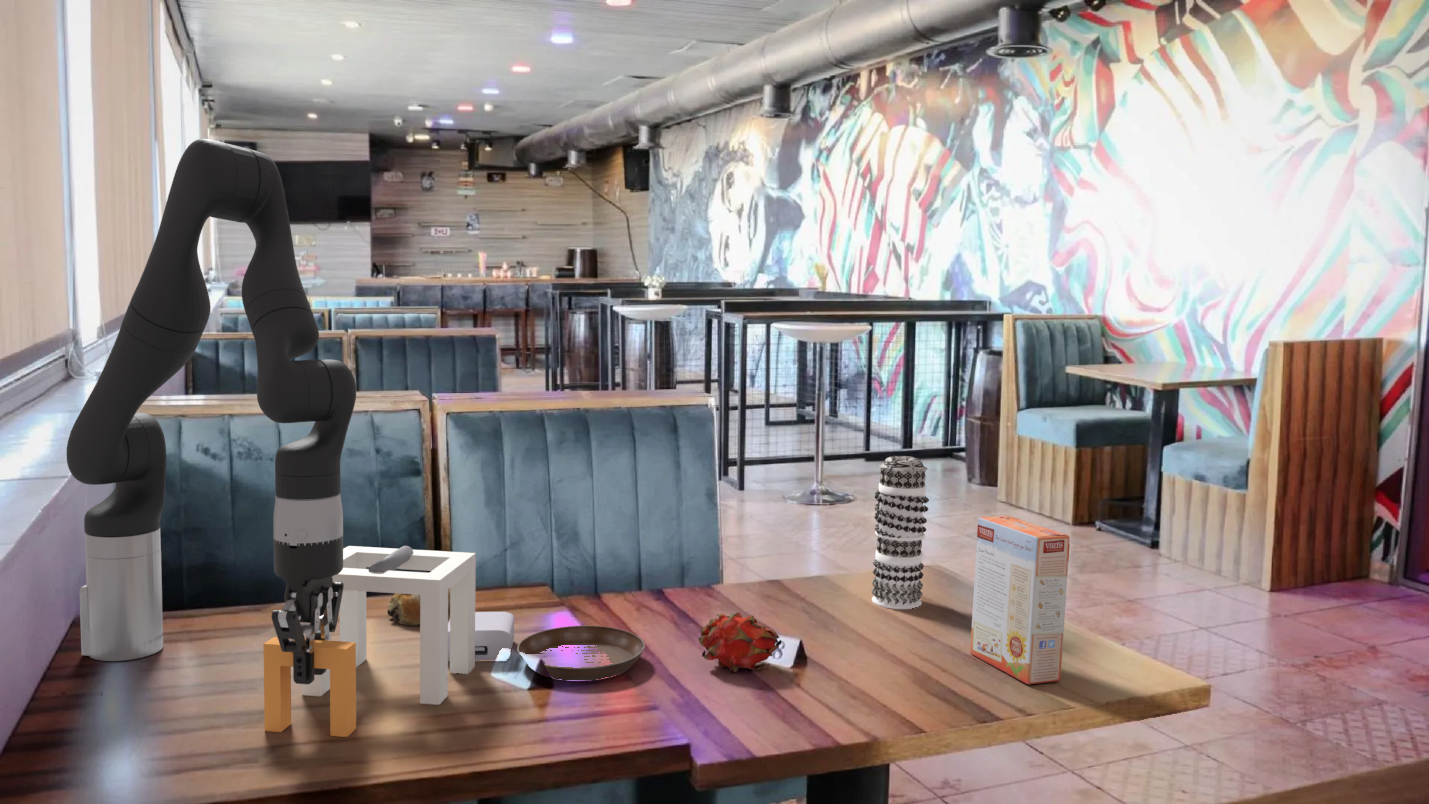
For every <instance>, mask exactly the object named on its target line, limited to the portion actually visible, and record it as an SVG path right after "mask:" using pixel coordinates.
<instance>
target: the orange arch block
mask: <svg viewBox="0 0 1429 804" xmlns="http://www.w3.org/2000/svg"><path fill="white" fill-rule="evenodd" d="M289 640H290V639H289ZM305 640H306V639H305ZM313 652H314V668H320V669H330V689H329V701H330V702H329V712H330V713H329V717H330V719H329V721H330V722H329V724H330V727H329V728H330V729H329V731H330V732H329V733H330V736H331V737H338V738H339V737H340V738H341V737H342V738H348V737H349V736H350V735H352V733H353V732H354V731H356V729H357V689H356V688H357V669H356V668H357V667H356V642H343V641H340V640H331V641H328V640H314V650H313ZM291 668H293V653H292V652H282V650H281V646H280V643H279V640H278V637H277V636H274V637H272V638H270V639H269V640H267V641H266V642H264V643H263V692H264V693H263V695H264V696H263V699H264V700H263V701H264V702H263V705H264V706H263V707H264V708H263V709H264V710H263V711H264V732H273V733H282V732H283V731H284V730H286V729H287V728H288V727H289V726H290V725H291V724H292V677H291V676H292V670H291Z"/></svg>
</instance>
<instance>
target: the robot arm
mask: <svg viewBox="0 0 1429 804" xmlns="http://www.w3.org/2000/svg"><path fill="white" fill-rule="evenodd" d="M209 218H214V219H219V220H224V221H225V220H226V221H230V222H236V223H242V224H243V223H244V224H246V225H247V227H248V229H250V231H251V233H252V236H253V238H254V240H255V248H254V252H253V255H252V257H251V259H250V262H249V264H248V266H247V268H246V270H245V273H244V276H243V279H242V283H241V300H242V301H241V302H242V304H243V309H244V313H245V315H246V317H247V320H248V323H249V327H250V330H251V333H252V336H253V338H254V342H255V348H256V349H255V350H256V361H257V362H256V363H257V378H256V381H257V383H256V398H257V403H258V406H259V409H260V410H261V411H262V413H263V414H264V415H265V416H266V417H267V418H268V419H269V420H271V421H273V422H274V423H278V424H294V423H295V424H296V423H297V424H298V423H308V422H309V423H310V422H313V423H314V424H313V426H312V428H311V430H310V431H309V433H308V434H307V435H306V436H305V437H303V438H301V439H298V440H295V441H292V442H289V443H286V444H284V445H282V446H280V447H279V448H278V449H277V451H276V452H275V458H274V459H275V460H274V469H275V470H274V472H275V473H274V474H275V476H274V477H275V480H274V483H275V487H274V488H275V490H274V491H275V500H274V509H273V518H272V520H273V571H274V574H275V575H276V576H277V577H278V578H280V579H283V580H284V581H285V583H286V586H285V591H284V605H283V607H282V608H281V609H274V610H273V611H272V612H271V621H272V624H273V627H274V631H275V633H276V637H278V640H279V643H280V646H281V650H282V652H292V653H293V667H292V669H293V673H292V674H293V676H292V677H293V682H294V683H295V684H298V685H302V684H310V683H312V682H313V681H314V675H322V674H323V673H325V672H326V669H320V668H314V652H313V650H314V640H329V637H330V634H329V633H330V632H331V633H335V631H336V630H337V624H338V619H339V609H340V604H341V599H342V593H343V588H344V585H343V583H341V582H333V578H332V576H335V575H337V574H339V573H340V572H341V571H342V569H343V549H344V512H343V504H342V498H341V497H342V495H341V491H342V490H341V489H342V488H341V459H342V454H343V449H344V446H345V445H344V444H345V441H346V436H347V433H348V430H349V425H350V422H351V419H352V416H353V412H354V408H355V404H356V400H357V385H356V384H357V383H356V380H355V377H354V374H353V372H352V371H351V369H350V368H349V367H348V365H347V364H346V363H345V362H342V361H341V360H338V359H307V360H303V359H302V360H298V359H297V358H299V357H302V356H304V355H306V354H308V353H310V352H311V351H312V350H313V349H314V348H315V347H316V345H317V344H318V342H319V339H320V333H319V332H320V331H319V328H318V324H317V322H316V318H315V316H314V313H313V311H312V308H311V304H310V302H309V300H308V296H307V294H306V292H305V289H304V286H303V283H302V280H301V277H300V274H299V269H298V266H297V260H296V255H295V250H294V249H295V247H294V242H293V236H292V230H291V222H290V216H289V211H288V206H287V201H286V194H285V189H284V184H283V180H282V177H281V174H280V171H279V169H278V166H277V165H276V162H274V160H273V159H272V158H271V157H270V156H269V155H267V154H265V153H263V152H260V151H258V150H253V149H251V148H248V147H242V146H240V145H239V146H238V145H234V144H230V143H227V142H226V143H225V142H222V141H218V140H214V139H208V138H199V139H196V140H194V141H192V142H191V143H190V144H189V145H188V146H187V148H186V149H185V150H184V152H183V154H182V155H181V157H180V159H179V162H178V164H177V167H176V169H175V172H174V175H173V179H172V182H171V186H170V189H169V192H168V196H167V199H166V202H165V206H164V211H163V213H162V217H161V220H160V224H159V229H158V231H157V234H156V238H155V240H154V242H153V244H152V248H151V251H150V253H149V256H148V259H147V261H146V263H145V266H144V269H143V271H142V274H141V276H140V278H139V281H138V283H137V286H136V288H135V290H134V292H133V294H132V296H131V299H130V301H129V304H128V306H127V309H126V311H125V313H124V316H123V319H122V321H121V323H120V324H121V325H120V328H119V330H118V334H117V336H116V339H115V341H114V343H113V345H112V348H111V351H110V353H109V355H108V357H107V360H106V361H105V364H104V367H103V368H102V371H101V373H100V375H99V378H98V380H97V382H96V383H95V385H94V387H93V389H92V391H91V392H90V394H89V396H88V398H87V400H86V402H85V404H84V406H82V409H81V411H80V412H79V414H78V416H77V417H76V420H75V421H74V424H73V426H72V428H71V430H70V432H69V436H68V440H67V443H66V445H67V446H66V463H67V468H68V470H69V472H70V474H71V476H73V478H74V479H75V480H77V481H78V482H80V483H82V484H85V485H89V486H90V485H91V486H92V485H93V486H94V485H95V486H97V485H99V486H100V485H109V484H115V483H116V484H115V488H114V489H113V490H112V492H111V493H110V494H109V495H108V496H107V497H105V499H104V500H102V501H101V502H99V503H98V504H96V505H94V506H92V507H91V508H89V509H88V511H86V513H85V514H84V517H83V519H84V520H83V521H84V523H83V525H84V528H83V530H84V549H85V550H84V551H85V581H86V582H85V583H86V584H84V585H83V586H80V588H79V618H80V643H81V645H80V650H81V655H82V656H88V657H89V658H91V659H93V660H96V661H102V662H121V661H123V662H124V661H131V660H135V659H141V658H144V657H145V658H146V657H149V656H151V655H155V654H156V653H158V652H160V651H161V650H162V649H163V647H164V632H163V631H164V630H163V628H164V627H163V620H164V619H163V589H162V588H163V585H162V582H163V581H162V578H163V577H162V547H161V544H162V543H161V540H162V538H161V516H162V513H163V511H164V507H165V503H166V501H165V500H166V478H167V477H166V475H167V474H166V473H167V472H166V471H167V444H166V440H165V439H166V437H165V434H164V431H163V428H162V426H161V425H160V423H159V422H158V420H157V419H156V418H155V417H154V416H152V415H151V414H149V413H146V412H138V410H139V409H140V407H141V406H142V405H144V403H145V402H146V401H147V400H148V398H150V397H151V396H152V395H153V394H154V393H155V392H156V391H157V390H159V389H160V388H161V387H162V386H163V385H165V383H167V382H168V381H169V380H171V378H172V377H173V376H175V375H176V373H178V372H179V371H180V370H181V369H182V368H183V367H184V366H185V365H186V364H187V363H188V362H189V360H190V359H191V358H192V356H193V354H194V353H195V351H196V349H197V347H198V345H199V343H200V341H201V338H202V336H203V333H204V331H205V328H206V326H207V324H208V322H209V319H210V314H211V300H210V296H209V292H208V291H209V290H208V286H207V284H206V281H205V278H204V275H203V271H202V269H201V265H200V260H199V255H198V246H199V241H200V237H201V234H202V230H203V227H204V225H205V223H206V222H207V220H208V219H209ZM293 359H295V360H293ZM296 359H297V360H296ZM301 623H302V624H301ZM303 633H305V637H304V634H303ZM305 638H306V640H305ZM289 639H290V640H289Z"/></svg>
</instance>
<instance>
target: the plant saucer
mask: <svg viewBox="0 0 1429 804" xmlns="http://www.w3.org/2000/svg"><path fill="white" fill-rule="evenodd" d="M561 645H595V647H591V646H587V648H598V650H594V649H593V650H590V649H589V650H586V651H604V653H605V654H607V656H606V657H609V659H607V660H610V663H613V664H609V665H604V666H596V667H581V668H573V667H557V666H550V665H545V664H544V665H545V667H546V670H547V671H548V672H549V674H550V675H551V676H552V677H553V678H555V679H562V680H596V679H601V678H605V677H611V676H614V675H617V674H620V675H622V674H624V673H625V672H626V671H628V670H629V669H631V668H632V667H633V666H634V664H635V663H636V662H637V661H638V659H639V658H640V657H641V656H642V654H643V652H644V650H645V647H646V645H645V641H644V640H643V638H641V636H638V634H635V633H633V632H630V631H628V630H626V629H625V630H624V629H621V628H616V627H610V626H604V625H603V626H600V625H571V626H570V625H568V626H560V627H554V628H549V629H545V630H541V631H539V632H535V633H532V634H531V635H528V636H527V637H525V638H523V639H522V640H521V641H520V642H519V643H518V645H517V647H516V648H517V649H516V650H517V653H518V652H523V653H525V654H545V653H540V652H542V651H547V650H546V649H549V648H558V646H561ZM596 645H597V646H596ZM562 647H563V646H562ZM565 648H569V647H565ZM574 648H575V647H574ZM577 648H580V647H577ZM584 648H586V647H584ZM550 651H552V650H550ZM561 651H563V650H561ZM572 651H573V650H572ZM578 651H579V650H578ZM581 651H585V650H581ZM604 653H602V652H600V654H604ZM576 654H578V653H576ZM582 654H590V653H582ZM591 654H599V653H595V652H591ZM544 657H545V656H544ZM584 657H590V656H584ZM592 657H596V656H595V655H592ZM601 657H603V656H601ZM584 660H588V659H584ZM593 660H594V659H593ZM601 660H602V659H601ZM585 662H586V661H585ZM586 663H594V662H586ZM598 663H601V662H598ZM621 673H622V674H621Z"/></svg>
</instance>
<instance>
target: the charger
mask: <svg viewBox="0 0 1429 804" xmlns="http://www.w3.org/2000/svg"><path fill="white" fill-rule="evenodd" d="M514 641H515V615H513V613H511V612H508V611H475V661H476V660H477V661H480V660H495V659H496V657H497V655H498V654H499V651H500V650H501V649H502V648H509V649H511V648H512V649H513V644H514ZM448 661H450V620H449V622H448Z"/></svg>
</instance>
